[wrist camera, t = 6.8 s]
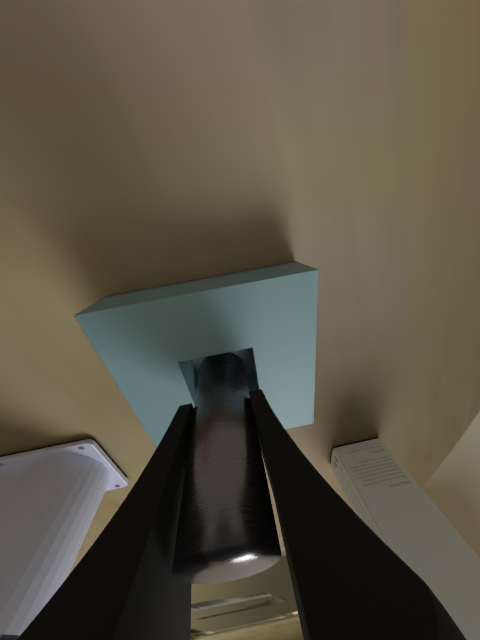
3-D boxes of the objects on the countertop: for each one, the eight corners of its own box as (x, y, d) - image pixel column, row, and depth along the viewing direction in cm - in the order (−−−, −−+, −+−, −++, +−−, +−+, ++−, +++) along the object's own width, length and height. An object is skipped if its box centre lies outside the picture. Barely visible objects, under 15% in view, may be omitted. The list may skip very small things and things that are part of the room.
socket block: (170, 419, 17) (161, 455, 14) (108, 295, 11) (73, 315, 9) (298, 393, 17) (313, 423, 14) (295, 261, 12) (318, 269, 9)
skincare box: (329, 465, 23) (426, 666, 12) (331, 444, 21) (449, 663, 10) (375, 455, 24) (509, 645, 13) (381, 434, 22) (548, 638, 11)
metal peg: (208, 391, 13) (196, 590, 6) (192, 358, 12) (150, 565, 4) (249, 379, 13) (288, 565, 6) (237, 345, 11) (270, 532, 4)
